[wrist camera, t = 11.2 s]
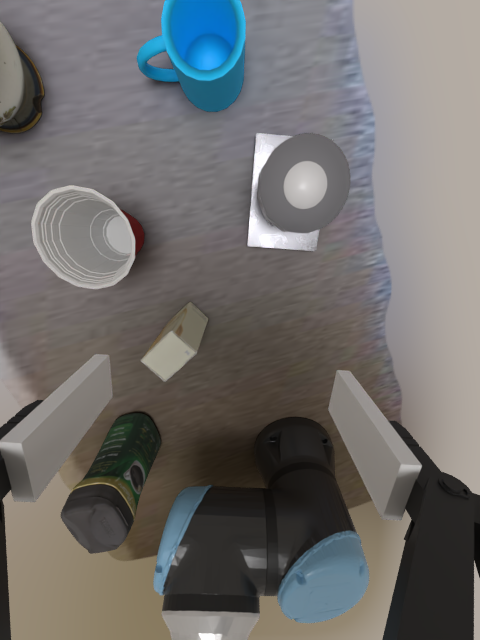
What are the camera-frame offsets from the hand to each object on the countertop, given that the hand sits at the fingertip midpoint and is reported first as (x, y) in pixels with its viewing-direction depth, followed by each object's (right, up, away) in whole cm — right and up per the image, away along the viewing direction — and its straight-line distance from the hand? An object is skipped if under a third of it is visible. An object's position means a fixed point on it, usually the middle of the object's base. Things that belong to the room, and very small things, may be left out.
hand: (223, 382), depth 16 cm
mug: (-4, +34, +18) cm, 39 cm away
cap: (+8, +19, +16) cm, 26 cm away
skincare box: (-8, +3, +29) cm, 31 cm away
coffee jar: (-18, -18, +37) cm, 45 cm away
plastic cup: (-16, +16, +25) cm, 33 cm away
